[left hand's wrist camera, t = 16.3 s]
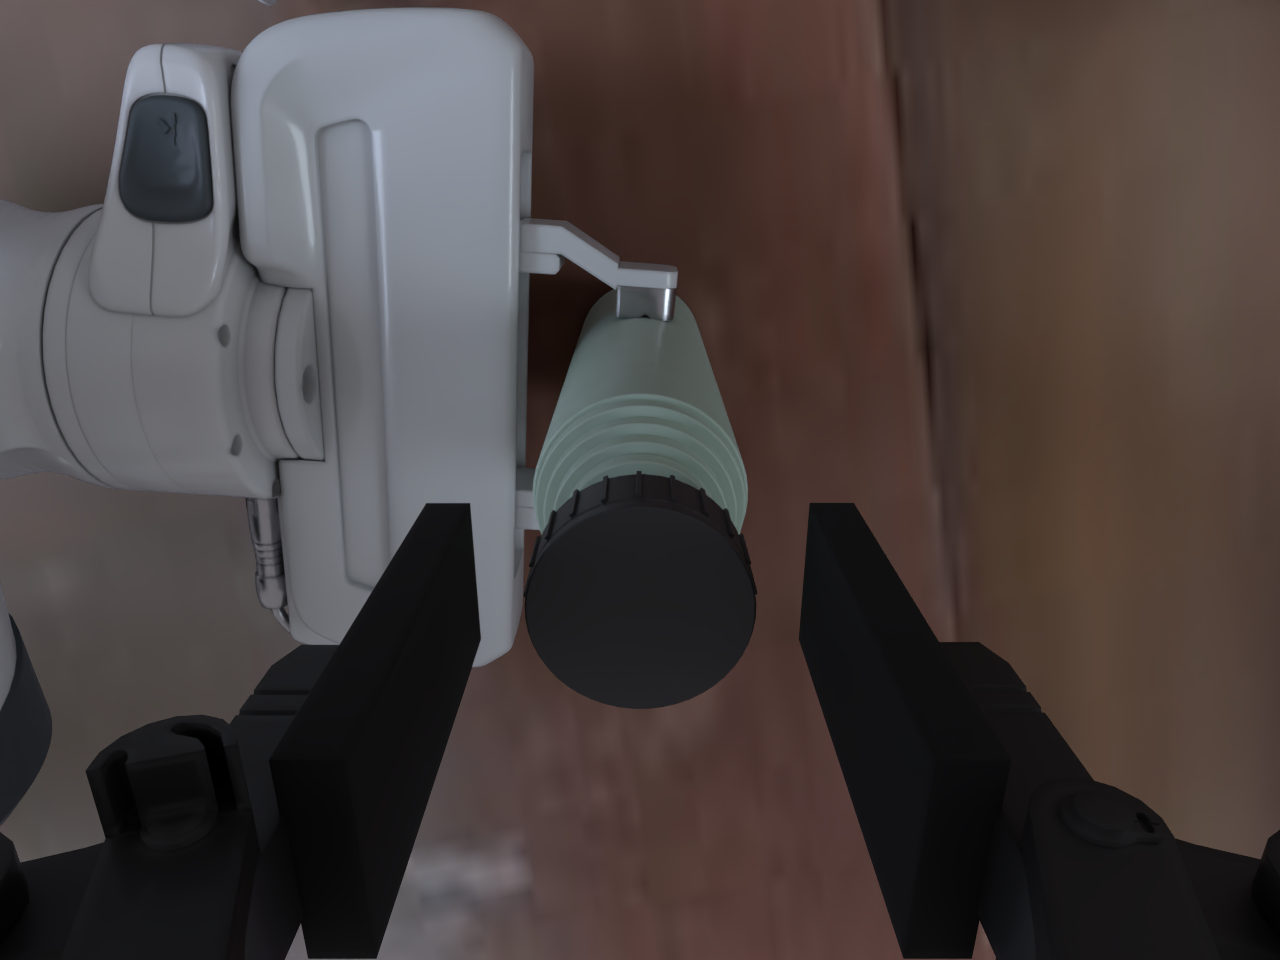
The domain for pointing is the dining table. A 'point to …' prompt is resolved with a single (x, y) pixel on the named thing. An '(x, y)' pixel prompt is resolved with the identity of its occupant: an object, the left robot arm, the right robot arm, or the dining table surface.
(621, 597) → the cap
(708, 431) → the bottle
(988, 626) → the dining table surface
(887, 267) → the dining table surface
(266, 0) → the electronic device
